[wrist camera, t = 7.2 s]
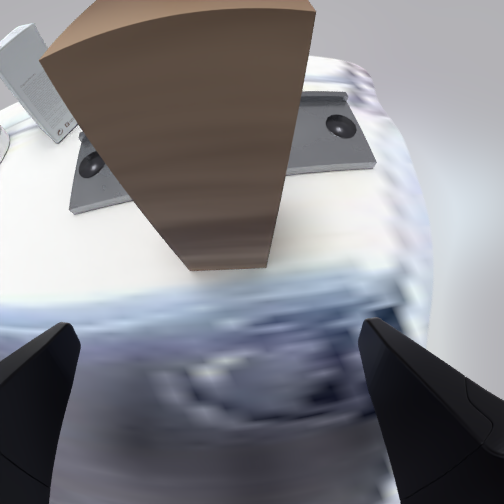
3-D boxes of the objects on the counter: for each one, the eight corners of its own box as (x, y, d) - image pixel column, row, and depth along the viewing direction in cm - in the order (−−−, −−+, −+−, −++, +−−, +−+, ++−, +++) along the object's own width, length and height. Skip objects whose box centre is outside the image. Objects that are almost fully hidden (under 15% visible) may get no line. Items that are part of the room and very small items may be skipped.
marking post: (266, 267, 16) (332, -99, 1) (190, 270, 16) (-1, -20, 1) (261, 199, 17) (281, -92, 2) (191, 203, 17) (103, -66, 2)
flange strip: (341, 103, 20) (345, 92, 19) (372, 168, 18) (379, 157, 17) (86, 142, 19) (79, 132, 18) (74, 214, 17) (64, 206, 16)
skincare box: (89, 113, 20) (38, 18, 9) (56, 147, 19) (-10, 58, 8) (66, 100, 21) (22, 21, 10) (37, 129, 20) (-17, 55, 9)
